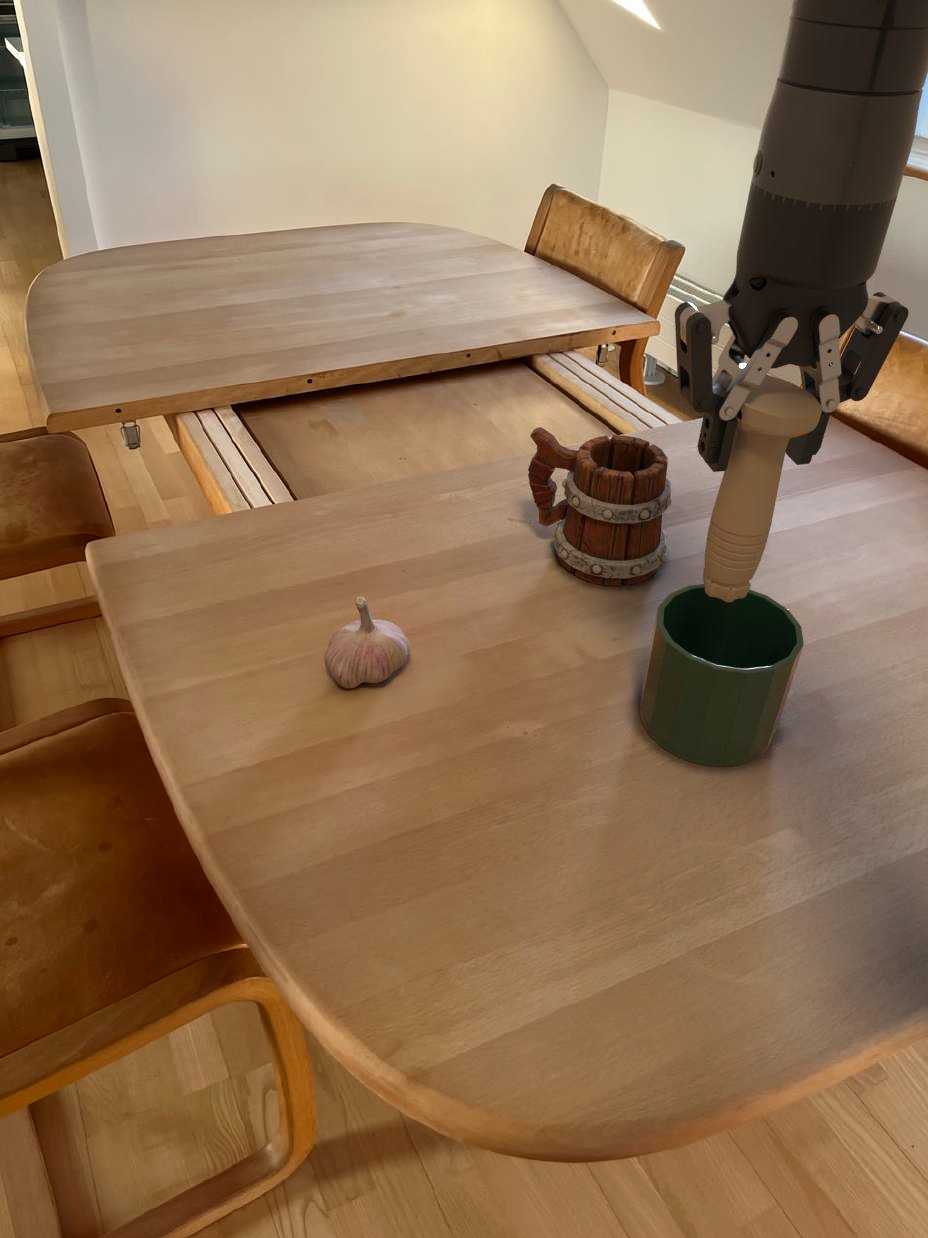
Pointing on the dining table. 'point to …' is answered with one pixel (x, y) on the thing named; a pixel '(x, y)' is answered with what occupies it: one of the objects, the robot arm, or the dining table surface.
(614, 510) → the mug
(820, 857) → the dining table surface
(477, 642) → the dining table surface
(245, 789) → the dining table surface
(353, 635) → the garlic bulb
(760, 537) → the handle
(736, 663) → the cup
